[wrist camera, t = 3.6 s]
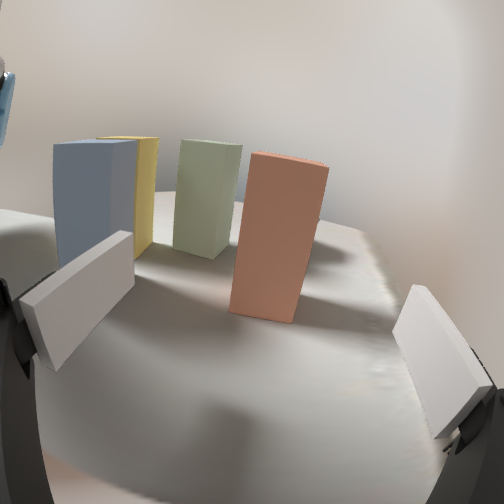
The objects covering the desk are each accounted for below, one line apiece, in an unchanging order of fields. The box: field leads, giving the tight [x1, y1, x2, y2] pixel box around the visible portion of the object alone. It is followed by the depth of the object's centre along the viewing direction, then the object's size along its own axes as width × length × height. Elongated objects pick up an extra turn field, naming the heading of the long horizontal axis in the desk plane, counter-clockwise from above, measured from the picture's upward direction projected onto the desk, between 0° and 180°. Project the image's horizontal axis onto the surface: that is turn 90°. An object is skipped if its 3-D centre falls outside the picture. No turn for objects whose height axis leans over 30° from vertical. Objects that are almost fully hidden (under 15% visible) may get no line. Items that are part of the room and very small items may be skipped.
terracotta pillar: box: [229, 151, 329, 324], centre depth 22 cm, size 5×5×12 cm
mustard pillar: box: [96, 136, 159, 259], centre depth 27 cm, size 5×5×12 cm
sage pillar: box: [172, 140, 242, 260], centre depth 30 cm, size 5×5×12 cm
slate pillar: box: [53, 140, 138, 269], centre depth 20 cm, size 5×5×12 cm
